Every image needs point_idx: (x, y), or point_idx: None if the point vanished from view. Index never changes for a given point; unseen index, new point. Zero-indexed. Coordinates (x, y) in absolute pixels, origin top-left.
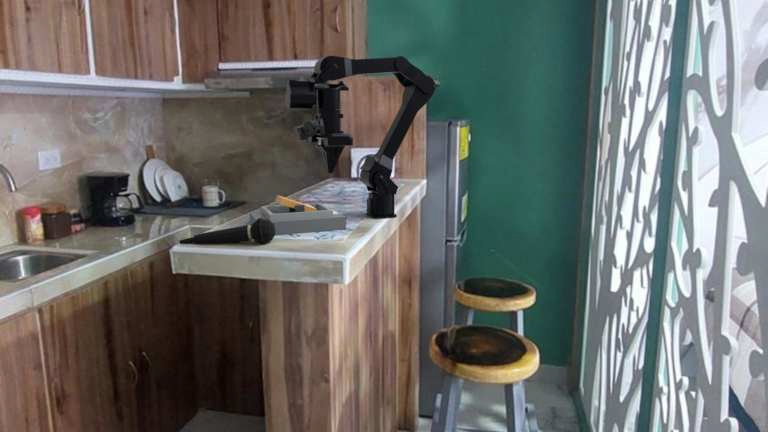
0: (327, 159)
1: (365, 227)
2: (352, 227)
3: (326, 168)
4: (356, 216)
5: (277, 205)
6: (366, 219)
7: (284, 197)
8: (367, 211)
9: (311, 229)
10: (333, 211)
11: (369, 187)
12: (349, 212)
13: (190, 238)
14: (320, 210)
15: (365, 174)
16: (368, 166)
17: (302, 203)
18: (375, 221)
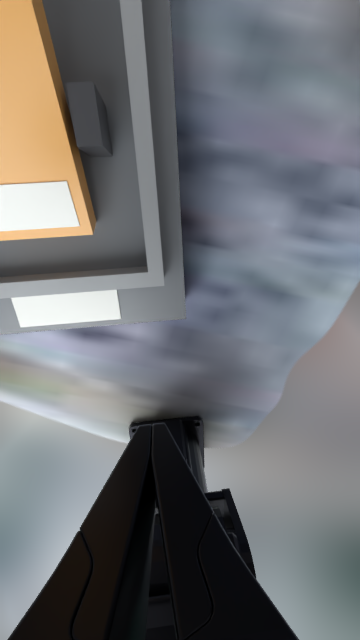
0: (71, 550)
1: (11, 377)
2: (15, 343)
3: (173, 443)
4: (186, 387)
5: (135, 12)
6: (132, 402)
7: (19, 12)
8: (173, 424)
9: None
10: (69, 316)
11: (225, 505)
12: (256, 381)
13: None
14: (98, 270)
15: (160, 566)
16: (151, 637)
17: (42, 172)
18: (96, 417)
